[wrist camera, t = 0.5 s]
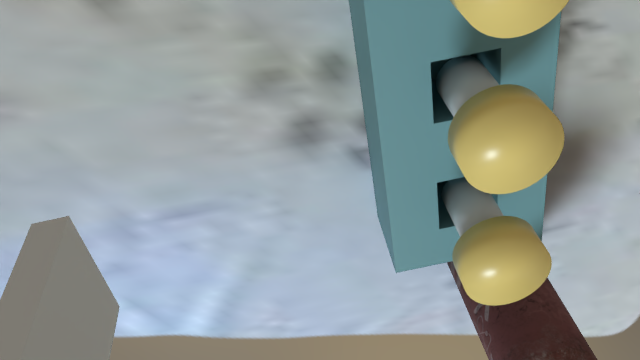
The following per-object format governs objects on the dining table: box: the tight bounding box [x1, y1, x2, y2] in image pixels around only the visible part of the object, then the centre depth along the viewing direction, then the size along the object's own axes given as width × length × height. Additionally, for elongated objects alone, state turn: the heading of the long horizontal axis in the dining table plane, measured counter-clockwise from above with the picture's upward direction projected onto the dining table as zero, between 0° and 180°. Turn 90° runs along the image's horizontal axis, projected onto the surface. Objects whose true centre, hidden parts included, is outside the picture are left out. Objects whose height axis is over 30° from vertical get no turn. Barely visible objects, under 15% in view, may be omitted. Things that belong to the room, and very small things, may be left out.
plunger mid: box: [436, 56, 564, 194], centre depth 30 cm, size 5×5×8 cm
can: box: [447, 261, 597, 360], centre depth 42 cm, size 6×6×14 cm
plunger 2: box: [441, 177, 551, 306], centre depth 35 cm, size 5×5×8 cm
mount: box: [349, 0, 561, 273], centre depth 35 cm, size 10×26×6 cm, turn 9°
